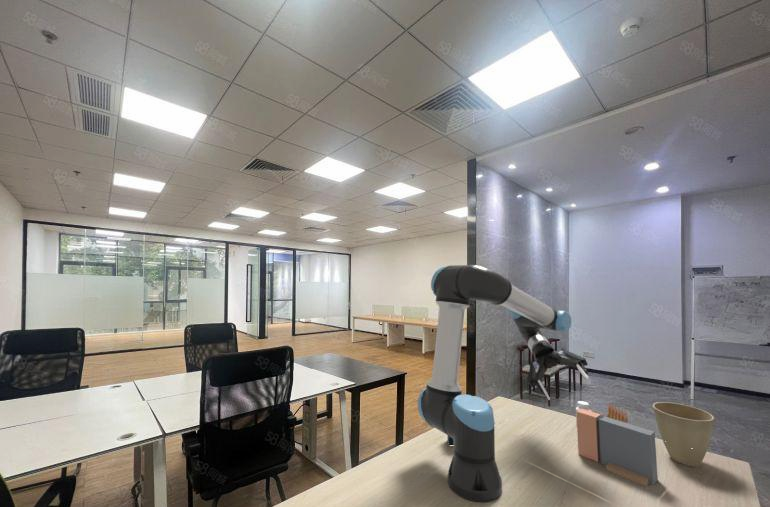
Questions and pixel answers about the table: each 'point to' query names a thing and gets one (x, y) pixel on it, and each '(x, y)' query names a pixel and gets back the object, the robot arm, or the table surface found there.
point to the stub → (587, 434)
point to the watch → (450, 440)
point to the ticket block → (627, 450)
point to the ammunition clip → (616, 414)
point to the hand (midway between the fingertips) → (568, 389)
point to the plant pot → (684, 431)
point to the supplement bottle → (582, 407)
